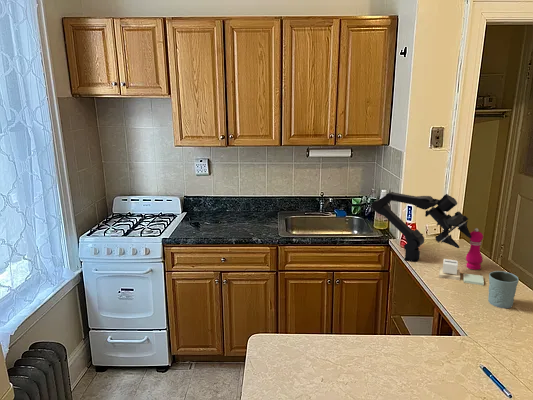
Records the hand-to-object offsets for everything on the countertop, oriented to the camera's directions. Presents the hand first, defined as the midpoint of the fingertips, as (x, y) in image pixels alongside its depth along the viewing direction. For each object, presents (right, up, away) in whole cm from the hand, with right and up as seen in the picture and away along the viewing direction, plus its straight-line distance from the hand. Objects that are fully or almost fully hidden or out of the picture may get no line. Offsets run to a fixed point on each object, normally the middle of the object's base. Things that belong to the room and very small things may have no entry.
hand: (465, 242), depth 184 cm
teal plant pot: (+1, -22, -26) cm, 34 cm away
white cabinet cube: (-7, -13, 0) cm, 15 cm away
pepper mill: (+8, -13, +8) cm, 17 cm away
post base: (-7, -15, +1) cm, 17 cm away
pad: (+1, -17, -5) cm, 17 cm away
